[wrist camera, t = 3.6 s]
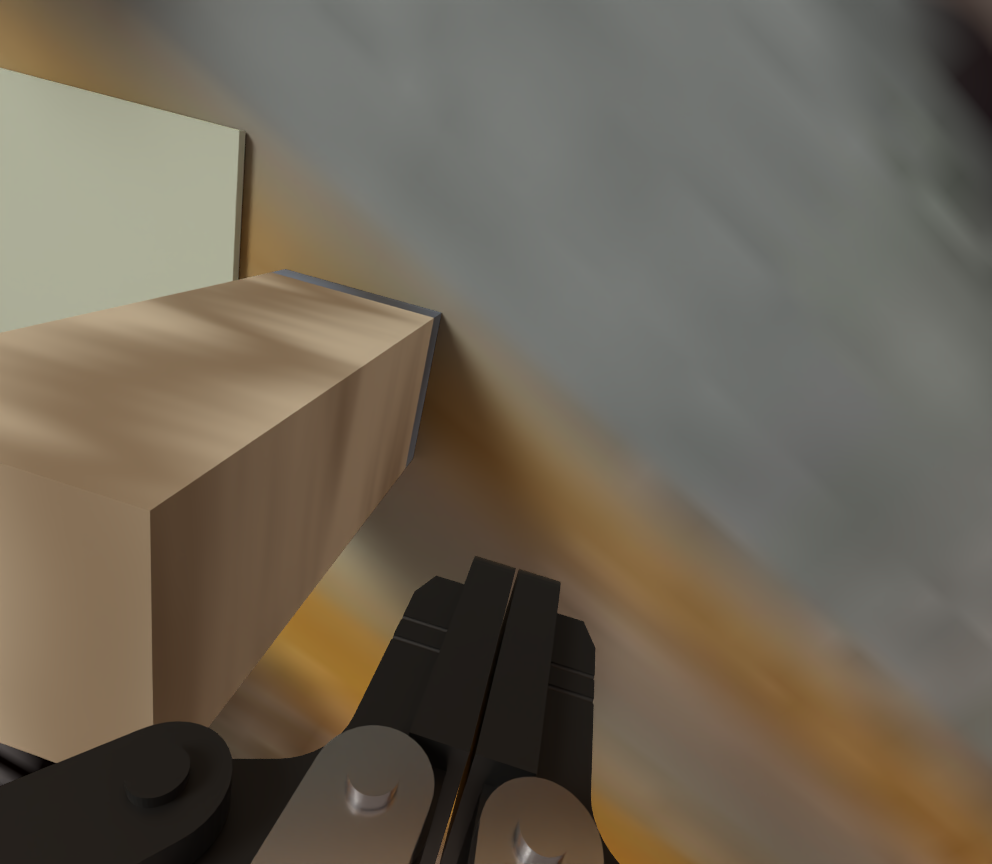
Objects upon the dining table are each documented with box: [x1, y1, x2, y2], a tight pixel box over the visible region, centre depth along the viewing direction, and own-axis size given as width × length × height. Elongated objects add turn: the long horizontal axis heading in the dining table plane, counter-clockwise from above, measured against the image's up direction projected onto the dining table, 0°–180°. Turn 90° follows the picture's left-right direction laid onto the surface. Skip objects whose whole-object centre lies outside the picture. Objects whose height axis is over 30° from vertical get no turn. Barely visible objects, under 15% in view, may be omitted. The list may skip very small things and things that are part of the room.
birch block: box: [0, 269, 441, 763], centre depth 13 cm, size 5×5×12 cm
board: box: [0, 68, 246, 333], centre depth 19 cm, size 13×12×1 cm
